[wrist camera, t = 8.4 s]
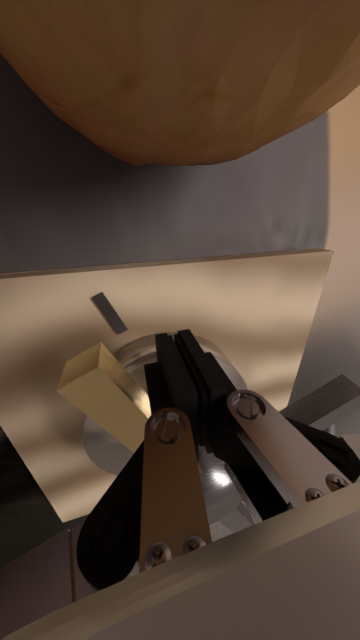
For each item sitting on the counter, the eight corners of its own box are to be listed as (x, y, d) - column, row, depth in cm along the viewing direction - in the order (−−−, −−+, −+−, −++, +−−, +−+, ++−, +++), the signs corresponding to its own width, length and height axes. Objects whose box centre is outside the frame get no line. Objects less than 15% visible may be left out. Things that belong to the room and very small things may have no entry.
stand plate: (266, 441, 29) (274, 453, 27) (65, 505, 23) (62, 525, 22) (317, 248, 17) (336, 251, 16) (-66, 278, 11) (-94, 287, 10)
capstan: (305, 412, 25) (368, 477, 19) (133, 514, 24) (139, 616, 18) (264, 210, 13) (404, 204, 7) (-82, 405, 12) (-287, 600, 6)
